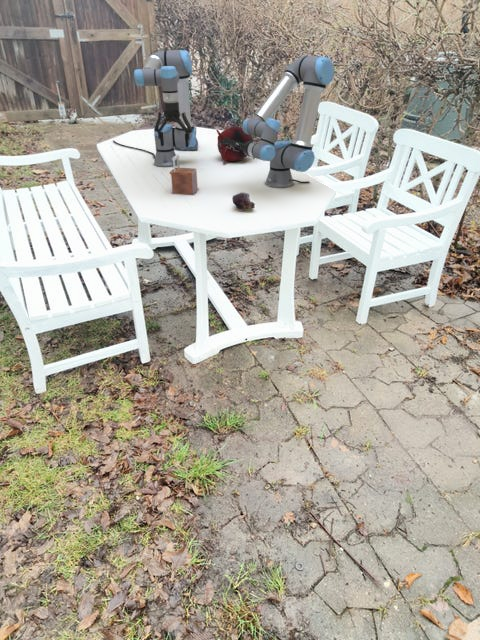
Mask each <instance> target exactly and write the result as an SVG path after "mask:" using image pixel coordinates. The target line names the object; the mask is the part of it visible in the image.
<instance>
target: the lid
mask: <svg viewBox="0 0 480 640" xmlns="http://www.w3.org/2000/svg"><path fill="white" fill-rule="evenodd" d="M179 157H180V154H178V153H176V156H174V157H173V158H172V160H173V166H172V167H173V169H171V170H170V171H169V175H171V174H177V175H192V174H193V173H194V172H195V171H197V168H195V167H194V168H193V167H192V168H191V167H180V160H179ZM176 159H177V165H175V160H176ZM176 166H177V167H176Z"/></svg>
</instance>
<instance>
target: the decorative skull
mask: <svg viewBox="0 0 480 640" xmlns="http://www.w3.org/2000/svg"><path fill="white" fill-rule="evenodd" d="M216 133H217V135H218V136H217V150H218V153H219V154H220V157H221V159H222V160H223V162H222V163H223V165H225V163H226V162H227V161H228V162H238V161H242V160H244V159H245V158H248V156H246V155H245V154H244V151H240V149H238V148H237V147H235V146H232V145H229V144H224V143H221V139H222V137H223V138H227V137H228V139H231V140H234V141H238V142H242V143H246V142H248V141H253V142H254V138H253V136H250V135H248V134H246V133H244V131H243V128H242V126H231V127H228V128H226V129H225V130H223V131H221V132H220V130H218V129H216ZM240 144H241V143H240ZM239 148H240V146H239Z"/></svg>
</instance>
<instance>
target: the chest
mask: <svg viewBox="0 0 480 640" xmlns="http://www.w3.org/2000/svg"><path fill="white" fill-rule="evenodd" d="M197 173H198V172H197V170H196V171H195V172H194V173H193V174H192V175H177V174H170V178H171V179H170V180H171V191H172V194H174V195H175V194H176V195H191V196H194V194H195V193H196V192H197V191H198V190H199V189H198V188H199V187H198V174H197Z"/></svg>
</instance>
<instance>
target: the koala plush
mask: <svg viewBox="0 0 480 640" xmlns="http://www.w3.org/2000/svg"><path fill="white" fill-rule="evenodd" d="M174 149H176V150H179V151H197V150H198V149H199V141H198V138H197V137H196V143H195V146H193V147H174Z"/></svg>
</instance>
